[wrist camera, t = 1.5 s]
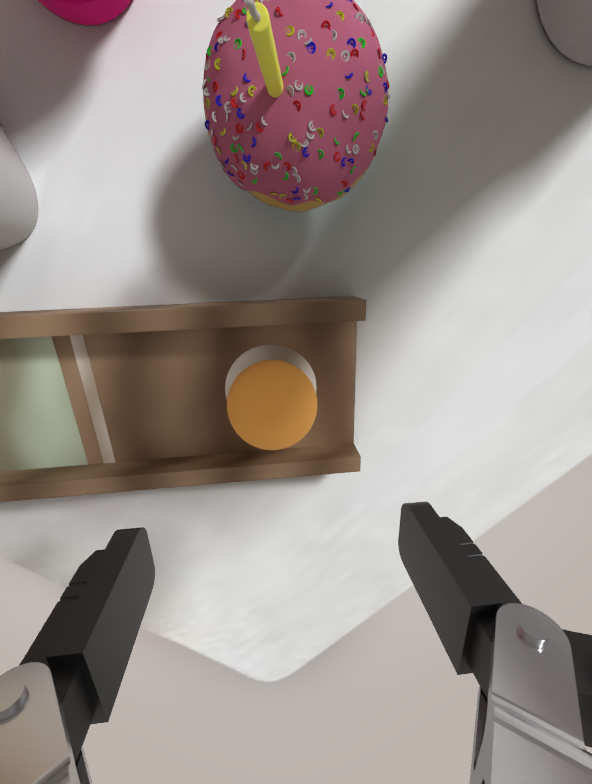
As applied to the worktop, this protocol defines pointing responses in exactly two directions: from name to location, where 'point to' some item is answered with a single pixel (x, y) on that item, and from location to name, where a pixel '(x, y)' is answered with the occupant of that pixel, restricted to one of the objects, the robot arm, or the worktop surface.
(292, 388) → the ball
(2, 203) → the lumpy-topped squat cylinder
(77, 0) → the pepper mill
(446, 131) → the worktop surface
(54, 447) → the wooden tray
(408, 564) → the robot arm
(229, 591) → the worktop surface
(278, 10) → the cupcake
